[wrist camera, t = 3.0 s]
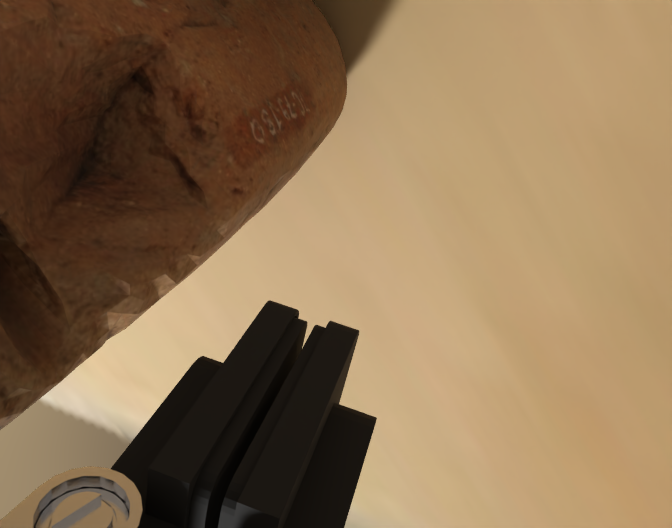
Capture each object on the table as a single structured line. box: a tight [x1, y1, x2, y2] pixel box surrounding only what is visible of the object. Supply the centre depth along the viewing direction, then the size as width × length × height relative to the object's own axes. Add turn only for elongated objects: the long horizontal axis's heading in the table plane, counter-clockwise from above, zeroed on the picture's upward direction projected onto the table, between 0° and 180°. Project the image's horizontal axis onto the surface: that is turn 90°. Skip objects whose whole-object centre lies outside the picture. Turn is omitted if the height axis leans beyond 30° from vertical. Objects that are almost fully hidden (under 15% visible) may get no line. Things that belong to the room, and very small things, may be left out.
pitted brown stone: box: [0, 0, 347, 429], centre depth 17 cm, size 11×8×20 cm
